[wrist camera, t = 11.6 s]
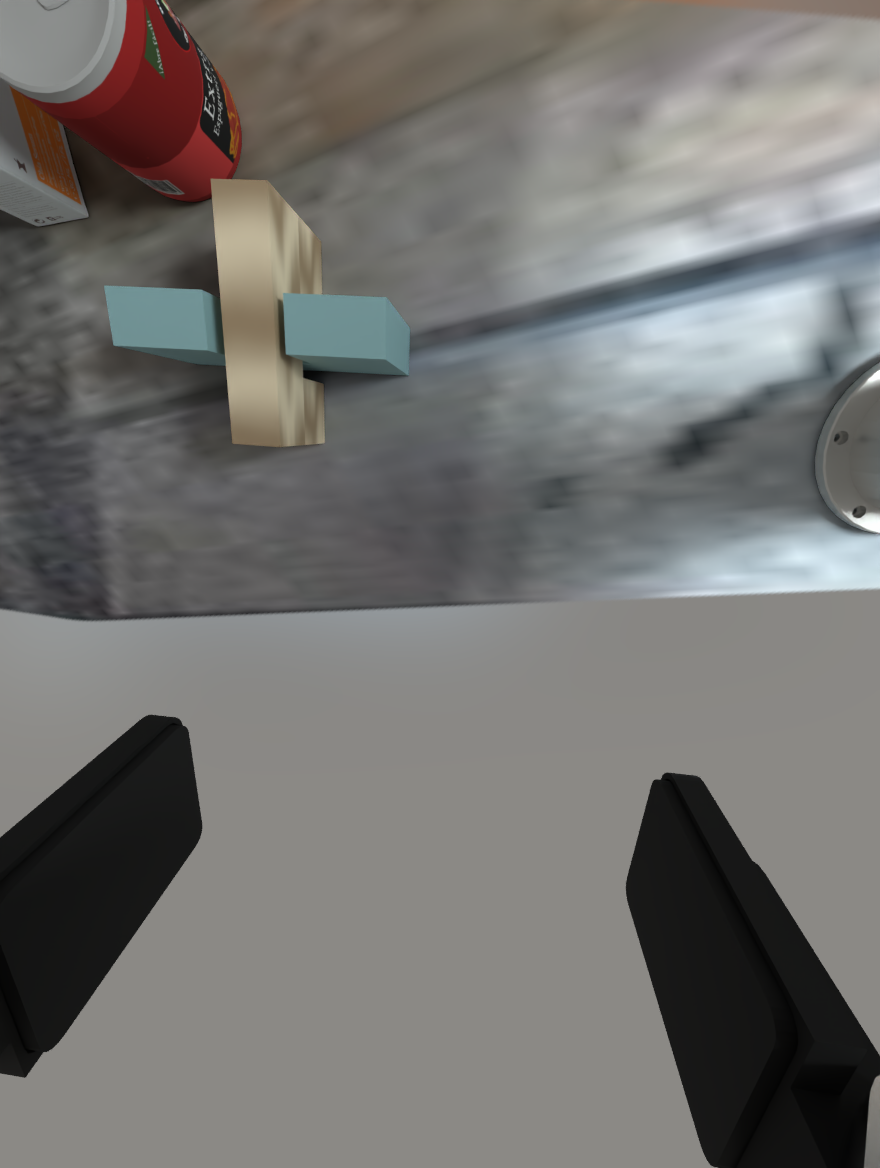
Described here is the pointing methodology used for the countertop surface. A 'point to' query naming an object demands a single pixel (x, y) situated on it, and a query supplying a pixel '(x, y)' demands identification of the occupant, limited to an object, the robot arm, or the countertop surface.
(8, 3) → the canned food
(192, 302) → the light blue block
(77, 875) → the robot arm
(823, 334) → the countertop surface
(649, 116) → the countertop surface
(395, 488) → the countertop surface
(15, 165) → the skincare box
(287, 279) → the beige flat block
